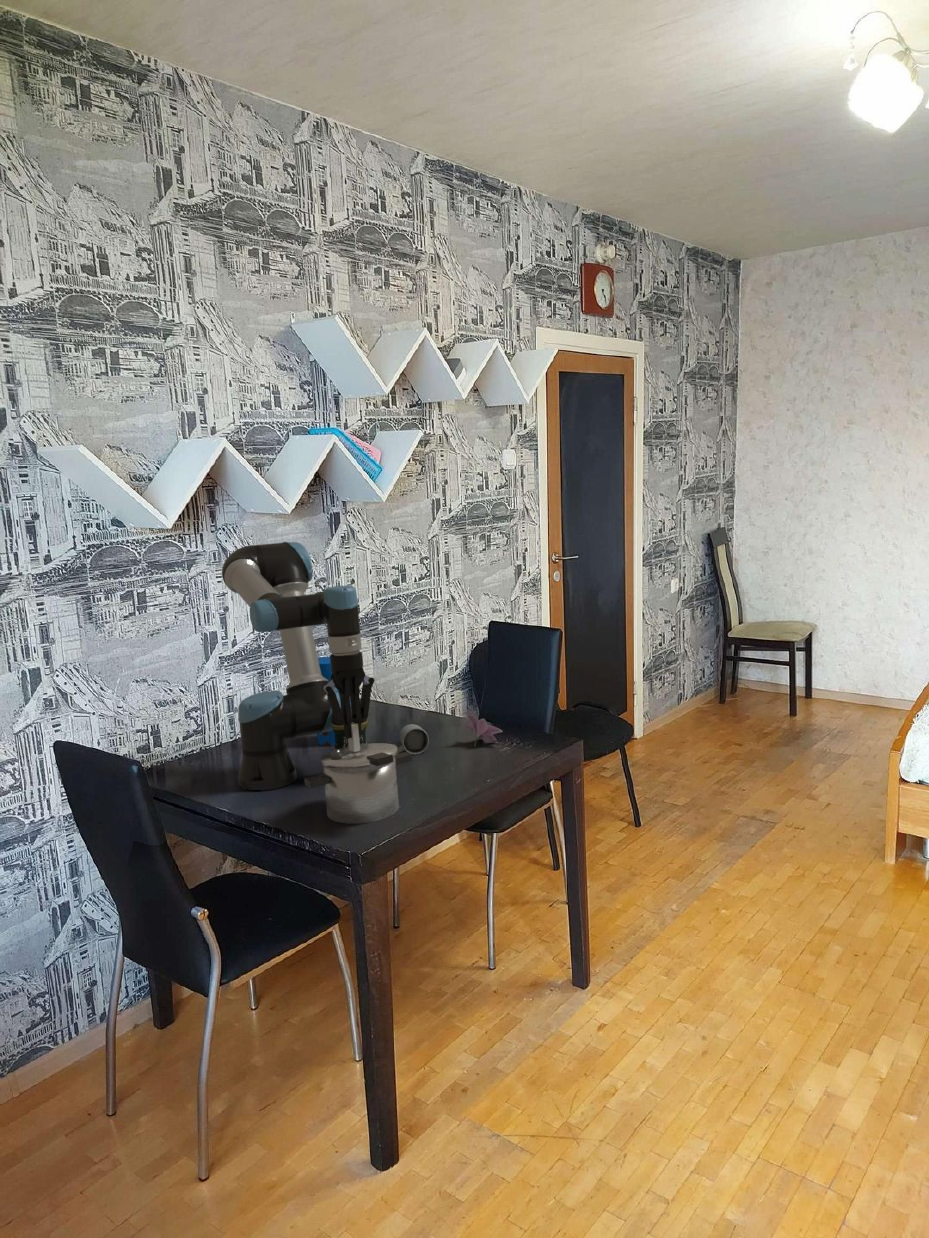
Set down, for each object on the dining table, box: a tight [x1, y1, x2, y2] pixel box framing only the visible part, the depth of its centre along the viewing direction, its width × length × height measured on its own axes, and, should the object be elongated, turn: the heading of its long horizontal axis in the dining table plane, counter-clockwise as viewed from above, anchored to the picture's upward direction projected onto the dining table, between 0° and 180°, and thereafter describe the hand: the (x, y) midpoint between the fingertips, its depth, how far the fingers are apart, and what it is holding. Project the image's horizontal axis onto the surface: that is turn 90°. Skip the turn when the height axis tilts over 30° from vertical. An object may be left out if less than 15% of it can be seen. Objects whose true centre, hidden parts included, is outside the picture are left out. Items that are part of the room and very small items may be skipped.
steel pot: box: [303, 751, 413, 825], centre depth 210 cm, size 19×27×12 cm
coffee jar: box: [331, 707, 369, 749], centre depth 233 cm, size 10×8×19 cm
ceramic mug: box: [393, 723, 430, 756], centre depth 252 cm, size 11×8×8 cm
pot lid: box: [320, 742, 399, 768], centre depth 206 cm, size 22×18×3 cm
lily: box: [463, 712, 503, 748], centre depth 254 cm, size 12×12×10 cm
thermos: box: [316, 656, 351, 747], centre depth 265 cm, size 11×11×25 cm
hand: (354, 750), depth 209 cm, fingers closed
